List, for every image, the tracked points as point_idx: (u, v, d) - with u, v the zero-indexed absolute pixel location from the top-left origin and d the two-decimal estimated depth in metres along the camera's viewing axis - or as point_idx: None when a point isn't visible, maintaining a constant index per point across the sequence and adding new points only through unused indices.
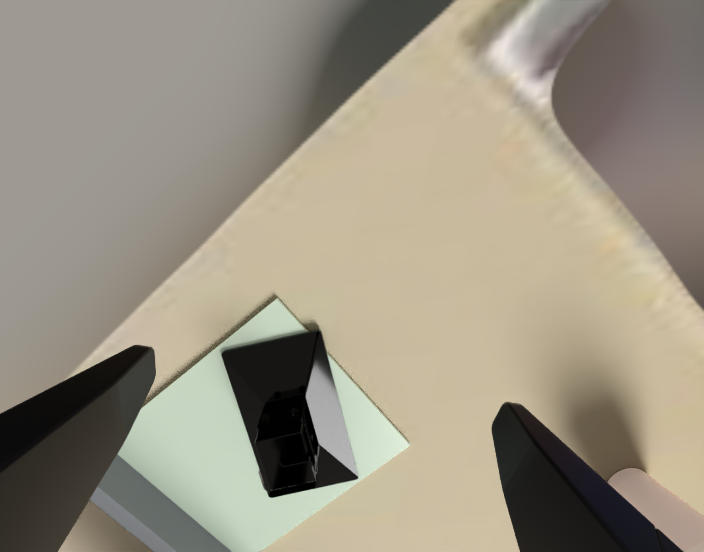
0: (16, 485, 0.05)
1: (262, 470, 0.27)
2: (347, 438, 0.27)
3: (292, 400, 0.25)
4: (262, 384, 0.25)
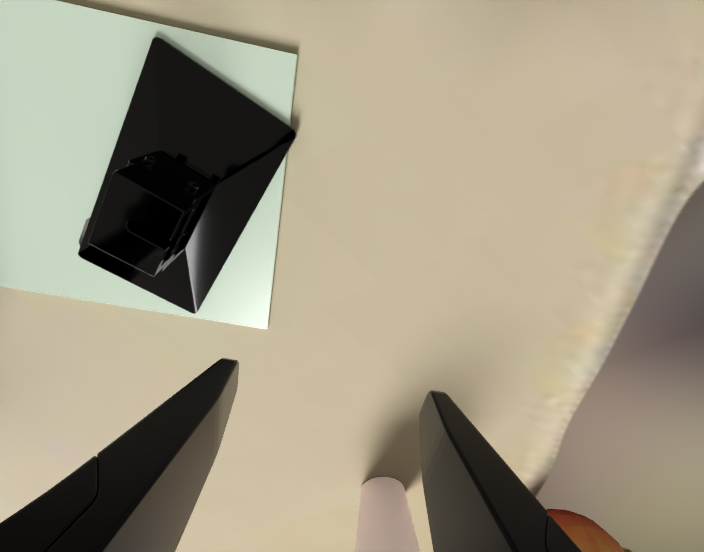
0: (155, 502, 0.06)
1: (93, 221, 0.19)
2: (219, 268, 0.21)
3: (198, 176, 0.17)
4: (176, 125, 0.17)
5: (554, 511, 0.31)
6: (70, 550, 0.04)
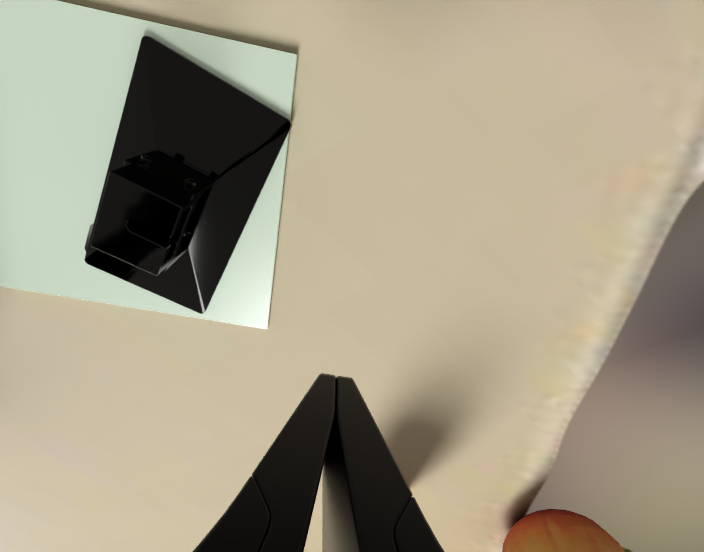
0: None
1: None
2: (224, 267, 0.21)
3: (195, 173, 0.17)
4: (171, 124, 0.17)
5: (554, 511, 0.31)
6: None
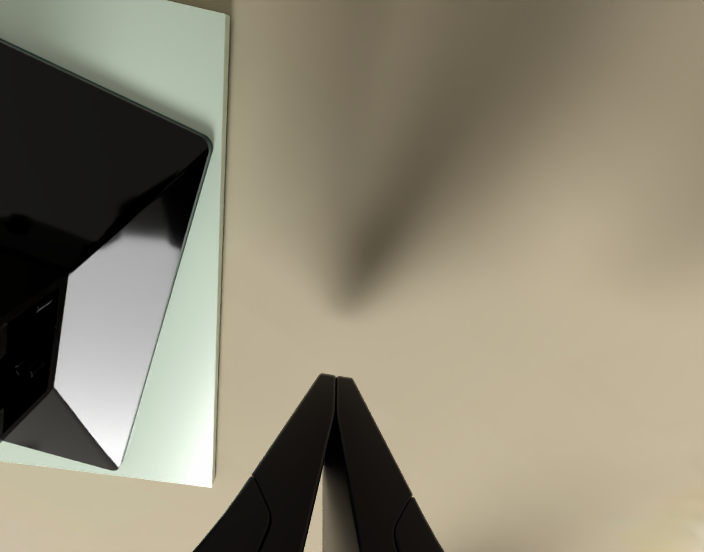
0: None
1: None
2: (134, 404, 0.11)
3: (17, 265, 0.08)
4: None
5: None
6: None
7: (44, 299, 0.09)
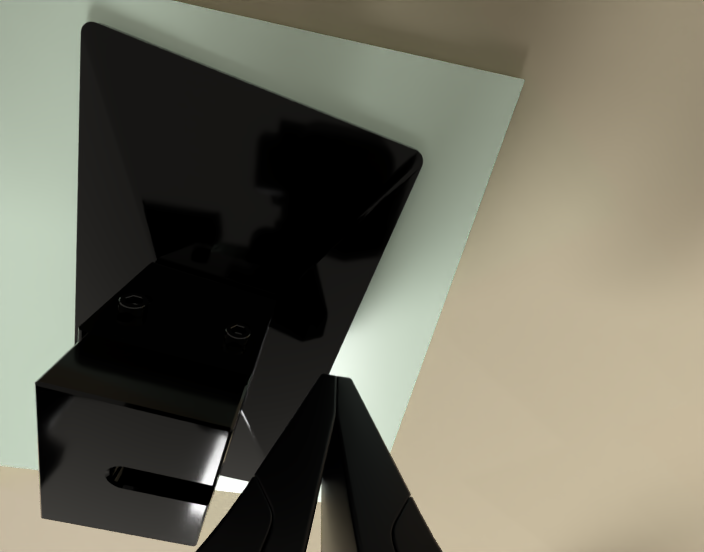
0: None
1: None
2: None
3: (240, 294, 0.08)
4: (175, 204, 0.08)
5: None
6: None
7: None
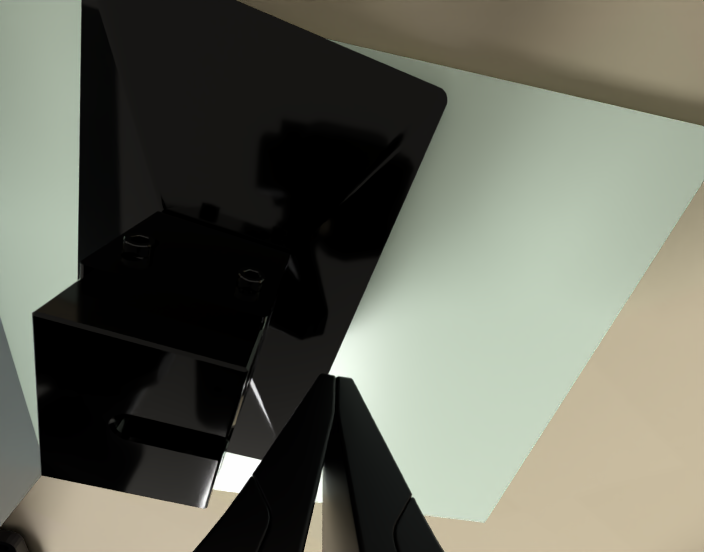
0: None
1: None
2: None
3: (252, 245, 0.08)
4: (183, 147, 0.07)
5: None
6: None
7: None
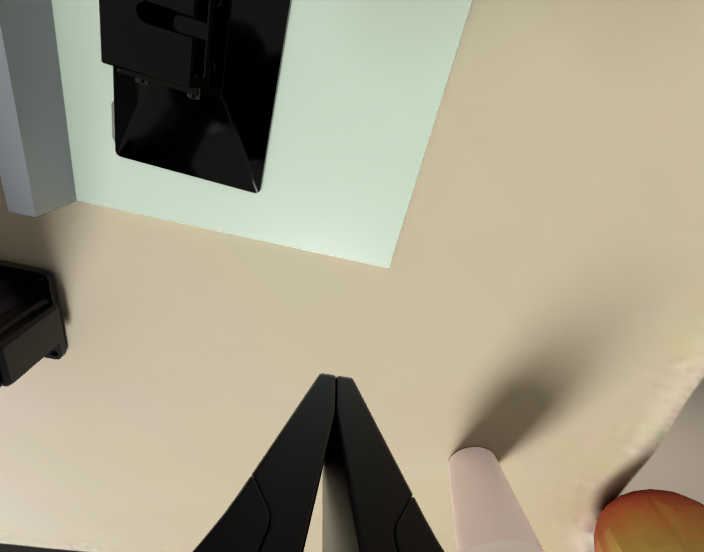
0: None
1: (118, 98, 0.16)
2: (270, 117, 0.17)
3: None
4: None
5: (657, 491, 0.28)
6: None
7: None
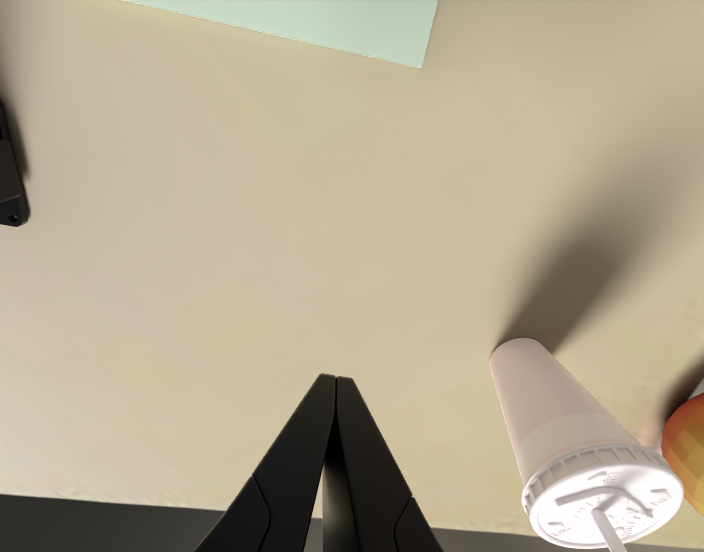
0: None
1: None
2: None
3: None
4: None
5: None
6: None
7: None
